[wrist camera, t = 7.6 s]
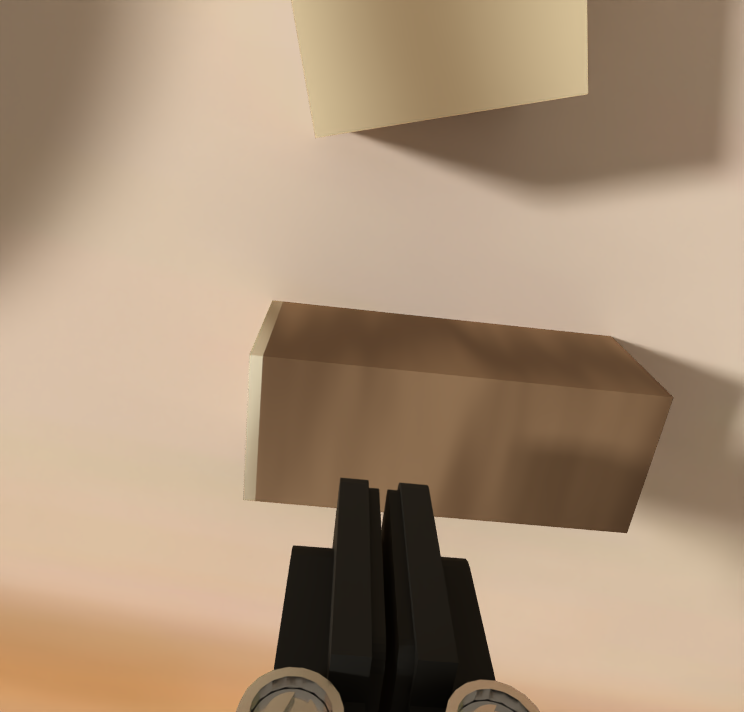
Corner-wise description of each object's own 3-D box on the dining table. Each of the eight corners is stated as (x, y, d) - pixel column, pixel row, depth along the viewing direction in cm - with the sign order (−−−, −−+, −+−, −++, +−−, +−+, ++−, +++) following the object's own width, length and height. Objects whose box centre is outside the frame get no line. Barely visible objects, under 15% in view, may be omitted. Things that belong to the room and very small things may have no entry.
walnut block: (272, 300, 18) (611, 336, 18) (265, 422, 19) (578, 451, 20) (249, 355, 14) (673, 397, 15) (243, 499, 16) (626, 533, 16)
